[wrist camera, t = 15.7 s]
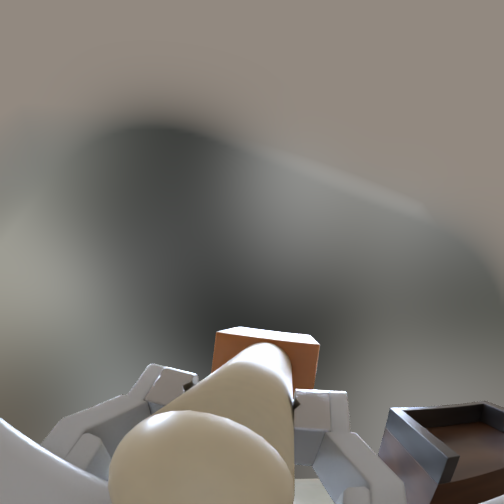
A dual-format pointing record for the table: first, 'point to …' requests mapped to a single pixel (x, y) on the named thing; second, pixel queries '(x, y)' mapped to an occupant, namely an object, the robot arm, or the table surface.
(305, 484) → the table surface
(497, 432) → the stand
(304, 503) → the table surface
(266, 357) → the mallet
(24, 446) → the robot arm
